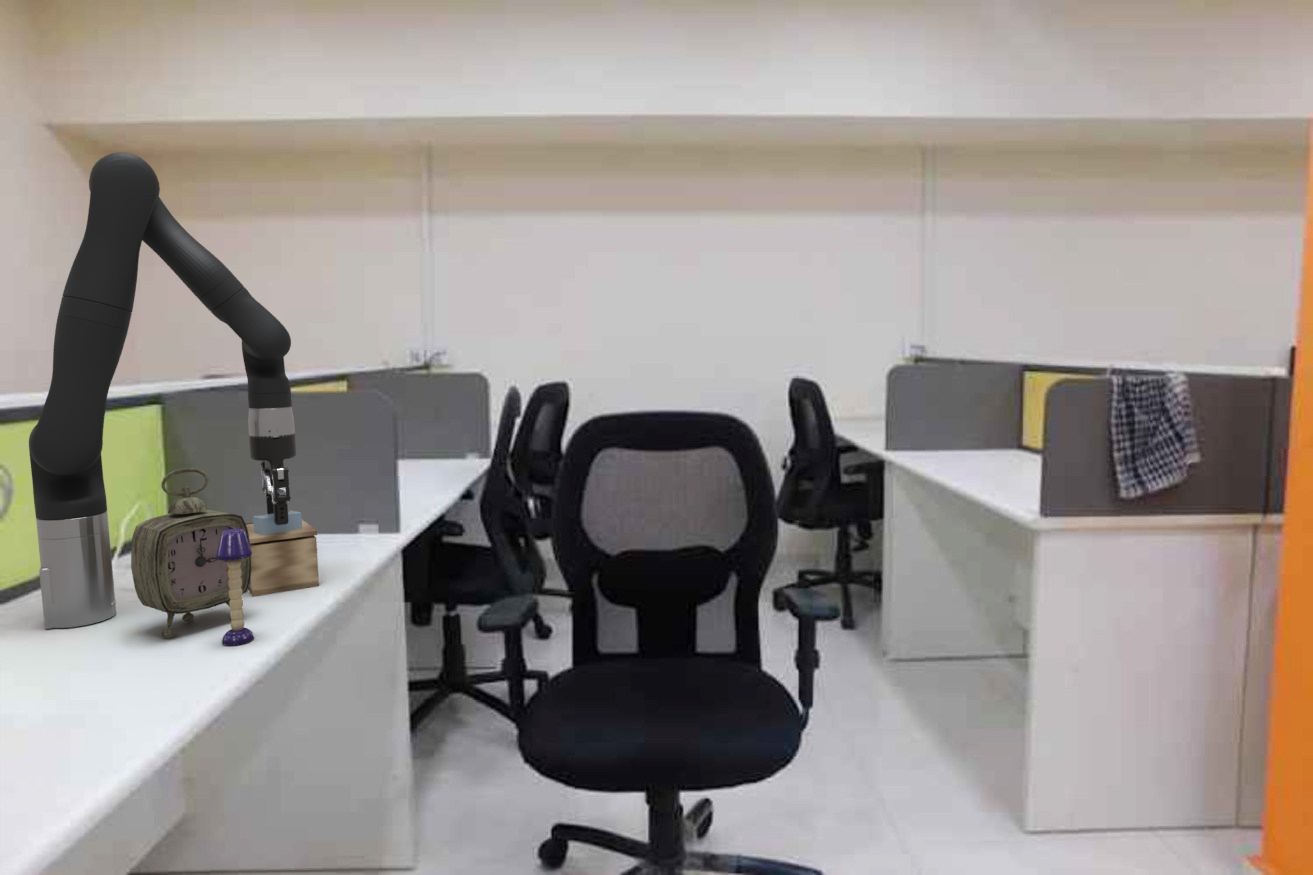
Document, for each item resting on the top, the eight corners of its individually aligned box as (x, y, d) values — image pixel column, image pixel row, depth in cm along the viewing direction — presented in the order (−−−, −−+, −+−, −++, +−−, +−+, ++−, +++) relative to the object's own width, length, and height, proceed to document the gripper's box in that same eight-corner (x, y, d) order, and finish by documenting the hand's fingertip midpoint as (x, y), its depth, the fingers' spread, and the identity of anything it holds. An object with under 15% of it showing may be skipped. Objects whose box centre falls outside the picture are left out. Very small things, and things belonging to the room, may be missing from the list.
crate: (252, 596, 140) (249, 546, 139) (241, 575, 153) (237, 530, 152) (319, 585, 146) (316, 537, 145) (302, 566, 159) (299, 522, 158)
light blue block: (263, 535, 142) (262, 518, 142) (254, 532, 144) (252, 516, 144) (302, 528, 147) (301, 512, 147) (292, 526, 150) (291, 510, 149)
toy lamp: (224, 636, 120) (217, 528, 118) (259, 632, 121) (251, 525, 119) (219, 647, 115) (211, 535, 113) (255, 643, 117) (247, 532, 115)
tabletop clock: (160, 644, 117) (147, 476, 114) (131, 633, 122) (117, 472, 119) (255, 616, 129) (245, 464, 126) (225, 607, 134) (214, 460, 131)
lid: (247, 543, 139) (247, 539, 139) (236, 529, 152) (236, 525, 152) (317, 534, 145) (316, 530, 145) (301, 522, 158) (300, 518, 158)
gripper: (243, 430, 148) (249, 516, 149) (254, 437, 136) (260, 530, 138) (287, 428, 152) (292, 511, 154) (301, 434, 140) (307, 524, 142)
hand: (277, 520), depth 146 cm, fingers open, 8 cm apart
